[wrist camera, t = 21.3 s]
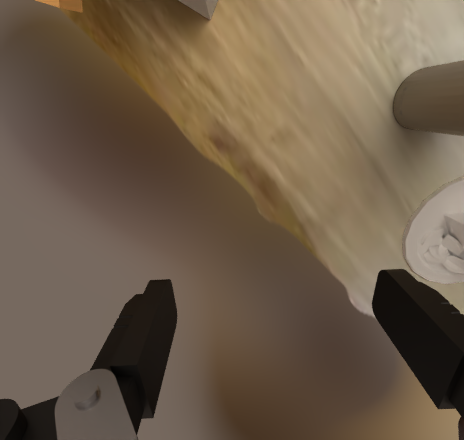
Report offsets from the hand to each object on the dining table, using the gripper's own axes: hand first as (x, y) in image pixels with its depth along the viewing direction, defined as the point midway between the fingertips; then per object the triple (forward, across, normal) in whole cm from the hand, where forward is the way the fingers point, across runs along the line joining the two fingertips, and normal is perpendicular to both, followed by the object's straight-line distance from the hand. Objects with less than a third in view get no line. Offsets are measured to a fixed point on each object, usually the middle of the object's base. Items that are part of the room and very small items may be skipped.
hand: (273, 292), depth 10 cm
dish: (+39, -45, +19) cm, 62 cm away
